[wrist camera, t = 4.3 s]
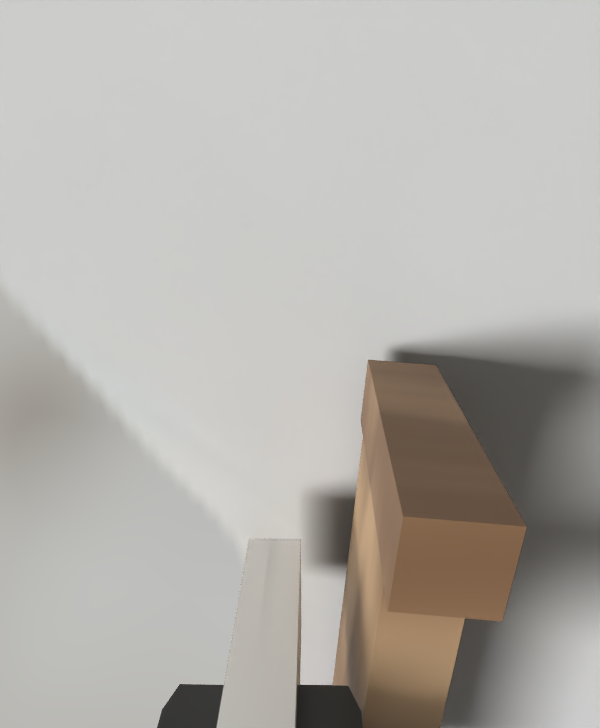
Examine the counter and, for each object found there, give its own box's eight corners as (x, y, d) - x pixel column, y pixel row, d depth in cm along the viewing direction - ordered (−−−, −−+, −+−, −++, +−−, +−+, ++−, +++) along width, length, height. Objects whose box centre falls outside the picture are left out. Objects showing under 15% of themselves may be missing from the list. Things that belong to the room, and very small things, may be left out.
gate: (374, 754, 17) (397, 1040, 12) (318, 749, 17) (315, 1031, 12) (440, 365, 12) (535, 527, 7) (364, 359, 13) (395, 515, 7)
